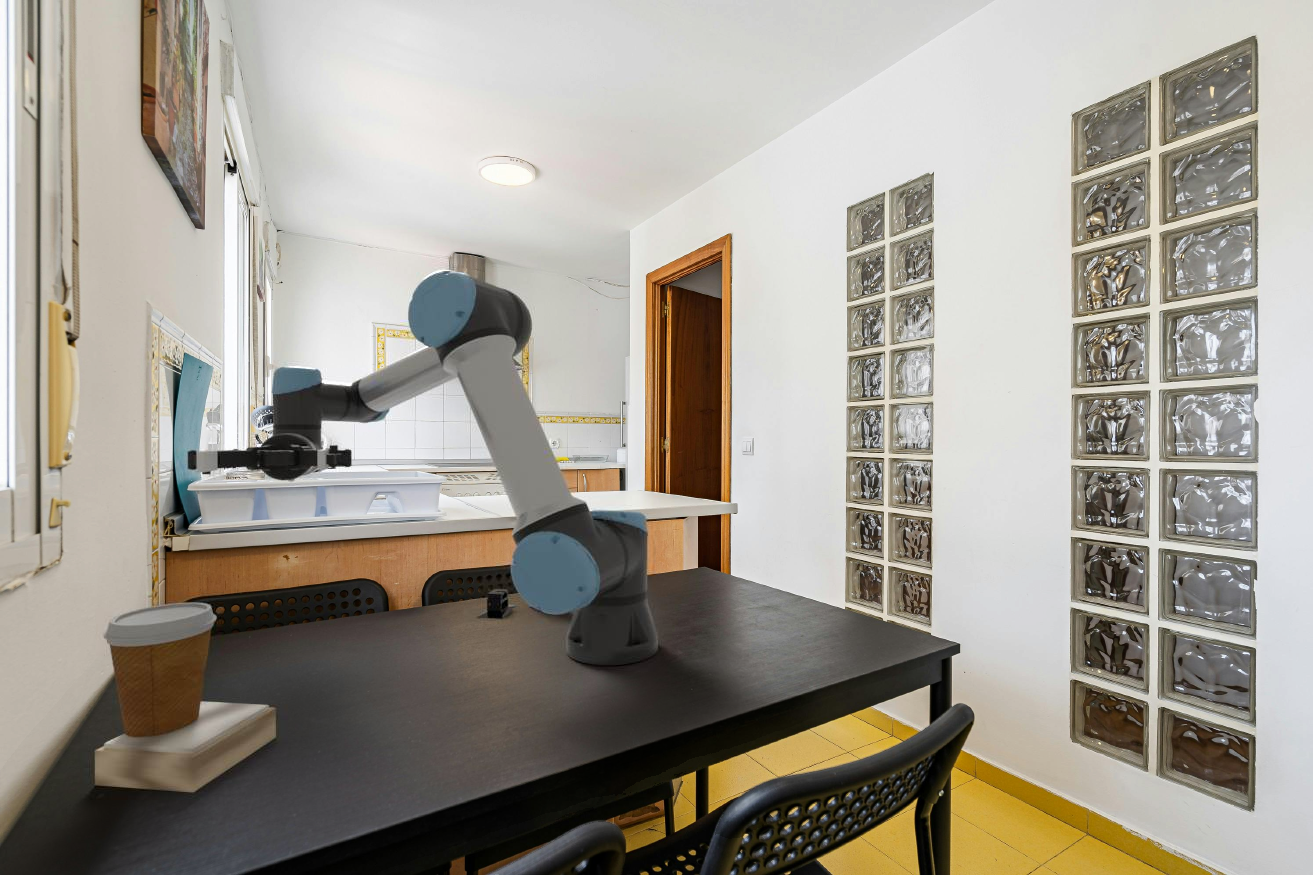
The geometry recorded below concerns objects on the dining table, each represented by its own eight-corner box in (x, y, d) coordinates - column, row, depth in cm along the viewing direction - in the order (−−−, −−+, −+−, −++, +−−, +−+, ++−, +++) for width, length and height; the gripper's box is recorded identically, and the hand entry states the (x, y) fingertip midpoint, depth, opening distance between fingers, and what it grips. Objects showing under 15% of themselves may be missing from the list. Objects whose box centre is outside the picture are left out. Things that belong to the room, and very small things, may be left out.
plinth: (275, 737, 71) (275, 703, 71) (193, 792, 60) (193, 751, 60) (190, 732, 72) (190, 698, 72) (95, 784, 61) (94, 745, 61)
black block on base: (503, 623, 116) (503, 600, 116) (466, 622, 116) (466, 598, 116) (524, 605, 128) (524, 584, 128) (491, 604, 129) (491, 583, 129)
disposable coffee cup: (155, 704, 71) (154, 601, 71) (236, 703, 71) (236, 601, 71) (77, 745, 61) (76, 627, 61) (171, 745, 61) (171, 626, 61)
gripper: (372, 477, 105) (366, 486, 85) (196, 481, 95) (144, 492, 75) (371, 433, 105) (366, 432, 85) (196, 433, 95) (144, 432, 75)
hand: (262, 461), depth 80 cm, fingers open, 13 cm apart
